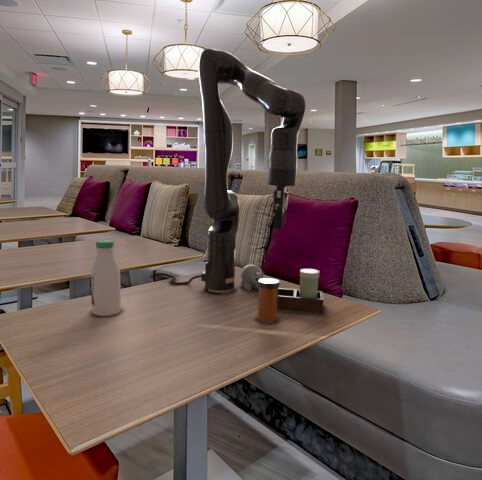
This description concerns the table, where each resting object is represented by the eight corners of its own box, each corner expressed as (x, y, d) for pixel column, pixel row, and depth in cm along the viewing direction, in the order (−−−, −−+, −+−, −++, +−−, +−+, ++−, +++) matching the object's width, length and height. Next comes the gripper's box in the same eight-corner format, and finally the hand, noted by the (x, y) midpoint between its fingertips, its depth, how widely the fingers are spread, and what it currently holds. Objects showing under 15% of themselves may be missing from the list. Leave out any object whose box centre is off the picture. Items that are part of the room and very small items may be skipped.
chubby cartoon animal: (251, 297, 132) (251, 271, 131) (237, 287, 143) (238, 262, 142) (271, 295, 135) (272, 269, 133) (256, 285, 146) (257, 261, 144)
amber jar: (255, 322, 111) (257, 282, 109) (258, 315, 116) (259, 277, 114) (276, 324, 110) (278, 284, 108) (278, 317, 115) (280, 278, 113)
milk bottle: (126, 309, 118) (125, 240, 115) (109, 318, 111) (108, 244, 108) (103, 306, 121) (101, 237, 117) (85, 314, 114) (83, 242, 110)
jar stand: (265, 310, 120) (266, 295, 120) (268, 301, 129) (269, 287, 128) (322, 315, 118) (323, 299, 117) (321, 306, 126) (322, 291, 125)
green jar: (297, 309, 120) (299, 272, 118) (298, 303, 125) (300, 268, 124) (317, 311, 119) (319, 273, 117) (317, 305, 124) (319, 269, 123)
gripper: (271, 167, 119) (268, 223, 122) (265, 166, 106) (262, 230, 109) (298, 168, 118) (294, 224, 121) (295, 167, 104) (291, 232, 107)
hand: (279, 227), depth 115 cm, fingers open, 8 cm apart
